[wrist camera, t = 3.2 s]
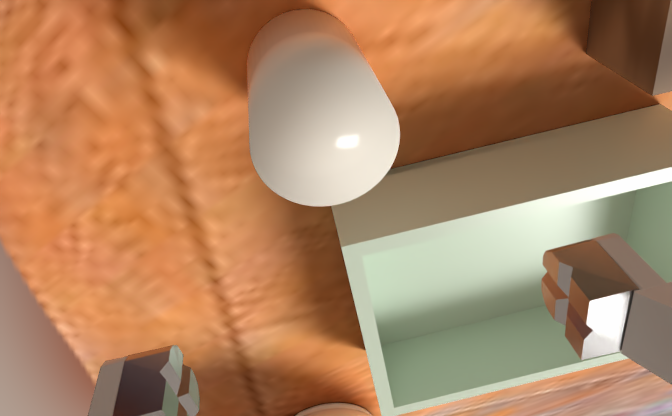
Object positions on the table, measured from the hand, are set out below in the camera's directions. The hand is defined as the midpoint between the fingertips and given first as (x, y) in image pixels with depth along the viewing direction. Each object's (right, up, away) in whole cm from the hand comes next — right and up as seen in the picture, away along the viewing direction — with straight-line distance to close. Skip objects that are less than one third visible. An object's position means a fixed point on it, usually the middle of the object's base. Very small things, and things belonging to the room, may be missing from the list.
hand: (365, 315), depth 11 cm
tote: (+9, 0, +19) cm, 21 cm away
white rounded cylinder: (-2, +8, +11) cm, 14 cm away
